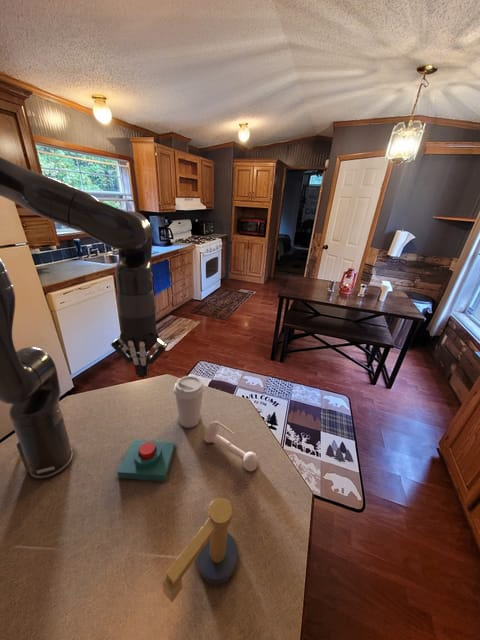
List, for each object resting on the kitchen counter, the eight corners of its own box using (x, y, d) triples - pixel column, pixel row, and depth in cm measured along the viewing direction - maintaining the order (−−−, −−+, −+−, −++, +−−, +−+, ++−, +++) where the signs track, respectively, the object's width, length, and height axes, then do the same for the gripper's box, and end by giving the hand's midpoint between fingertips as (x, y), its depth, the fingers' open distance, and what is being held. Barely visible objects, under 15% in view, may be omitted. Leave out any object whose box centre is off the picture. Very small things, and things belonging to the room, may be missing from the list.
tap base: (194, 583, 48) (194, 544, 43) (200, 533, 55) (201, 495, 50) (236, 586, 48) (241, 547, 43) (237, 536, 55) (241, 498, 50)
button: (137, 458, 66) (136, 454, 66) (143, 445, 70) (142, 441, 69) (152, 459, 66) (152, 455, 66) (157, 446, 70) (157, 442, 69)
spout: (218, 508, 50) (219, 493, 48) (235, 523, 48) (236, 508, 46) (158, 585, 39) (156, 569, 37) (176, 609, 37) (175, 593, 35)
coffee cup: (169, 418, 84) (167, 381, 79) (193, 405, 91) (193, 370, 85) (184, 436, 78) (183, 398, 72) (209, 421, 84) (210, 385, 78)
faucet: (245, 482, 71) (258, 465, 66) (200, 437, 77) (209, 419, 71) (252, 471, 74) (266, 454, 69) (209, 429, 80) (218, 411, 75)
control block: (118, 478, 65) (116, 467, 63) (134, 445, 74) (132, 435, 73) (165, 481, 65) (164, 470, 63) (175, 447, 74) (174, 437, 73)
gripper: (97, 314, 52) (108, 383, 59) (162, 319, 52) (165, 387, 59) (115, 302, 59) (122, 365, 65) (171, 306, 59) (173, 369, 66)
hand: (142, 375), depth 62 cm, fingers closed
